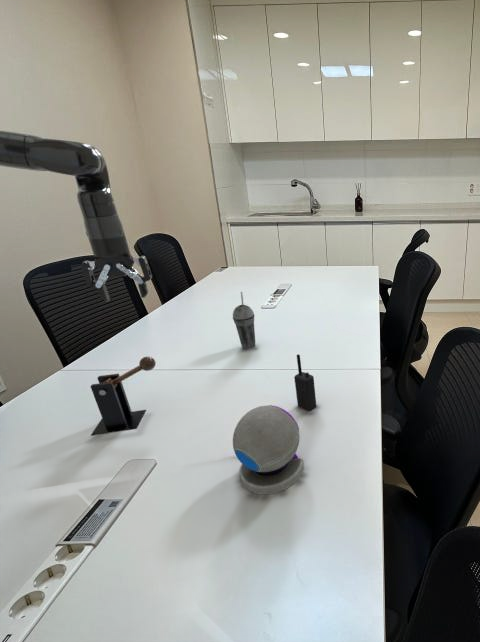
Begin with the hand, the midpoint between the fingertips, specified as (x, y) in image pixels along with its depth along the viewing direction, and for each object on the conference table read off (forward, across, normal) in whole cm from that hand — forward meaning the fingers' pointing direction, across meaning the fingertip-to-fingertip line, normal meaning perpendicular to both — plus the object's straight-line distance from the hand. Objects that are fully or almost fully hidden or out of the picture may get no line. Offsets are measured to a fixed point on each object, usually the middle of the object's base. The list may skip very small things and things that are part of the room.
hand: (126, 298), depth 100 cm
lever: (+16, -1, +15) cm, 22 cm away
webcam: (+28, -31, +43) cm, 60 cm away
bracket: (+28, +5, +15) cm, 32 cm away
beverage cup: (+29, -26, -23) cm, 45 cm away
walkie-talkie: (+29, -41, +21) cm, 54 cm away
